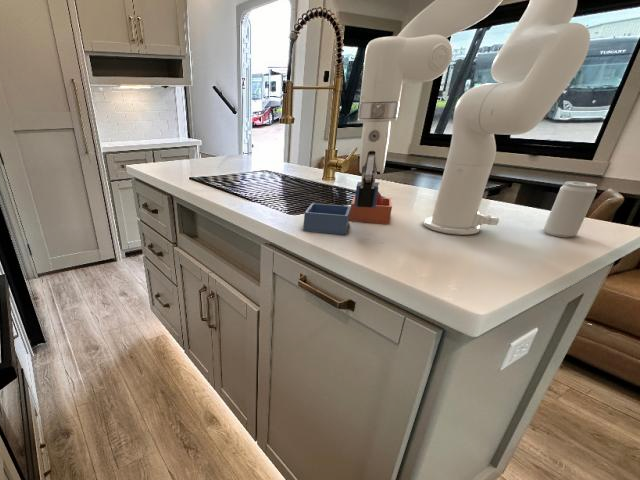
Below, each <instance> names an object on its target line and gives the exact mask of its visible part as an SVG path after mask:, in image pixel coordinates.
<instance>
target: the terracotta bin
mask: <svg viewBox="0 0 640 480" xmlns="http://www.w3.org/2000/svg"><path fill="white" fill-rule="evenodd" d="M355 196H356V195H354V196H353V198H352V200H351V203H350V206H351V210H350V217H349V222H358V223H359V222H360V223H370V224H379V225H380V224H381V225H390V219H391V213H392V208H393V201H392V198H391V197H382V206H380V205H376V207H375V208H371V207H354V204H355Z"/></svg>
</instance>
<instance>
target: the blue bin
mask: <svg viewBox="0 0 640 480" xmlns="http://www.w3.org/2000/svg"><path fill="white" fill-rule="evenodd" d="M350 210H351V205H341V204H340V205H339V204H329V203H316V202H312V203H310V205H309V206H308V207H307V209H306V210H305V211H304V215H303V216H304V217H303V226H302V227H303V229H302V231H303V232H313V233H322V234H333V235H341V236H342V235H344V236H345V235H346V232H347V229H348V226H349V223H350V221H349V217H350Z"/></svg>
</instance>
